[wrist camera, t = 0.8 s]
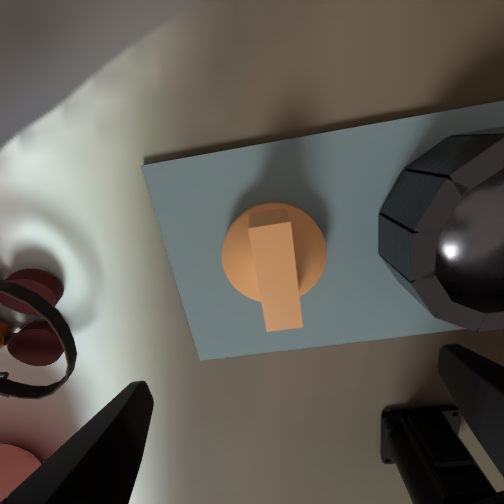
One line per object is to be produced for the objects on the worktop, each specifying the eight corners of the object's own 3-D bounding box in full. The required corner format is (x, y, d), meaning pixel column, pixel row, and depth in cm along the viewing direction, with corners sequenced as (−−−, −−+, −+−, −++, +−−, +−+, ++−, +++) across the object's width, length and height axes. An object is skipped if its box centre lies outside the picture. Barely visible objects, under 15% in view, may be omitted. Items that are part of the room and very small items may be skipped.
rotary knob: (324, 284, 19) (344, 325, 15) (234, 297, 19) (228, 339, 15) (317, 193, 16) (338, 209, 12) (214, 209, 17) (201, 231, 13)
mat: (530, 317, 20) (535, 320, 20) (201, 356, 22) (200, 360, 21) (589, 84, 14) (598, 83, 14) (143, 165, 16) (140, 165, 16)
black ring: (533, 282, 18) (603, 317, 15) (377, 302, 19) (406, 340, 15) (575, 113, 15) (684, 103, 11) (378, 147, 15) (417, 149, 12)
